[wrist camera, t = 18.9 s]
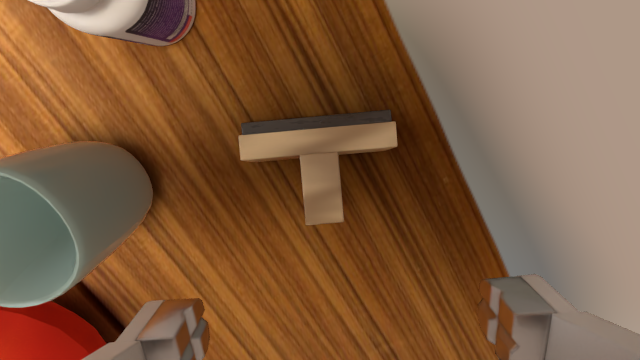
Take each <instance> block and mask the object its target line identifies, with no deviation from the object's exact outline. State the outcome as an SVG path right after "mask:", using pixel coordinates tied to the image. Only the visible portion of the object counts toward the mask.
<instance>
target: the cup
mask: <svg viewBox="0 0 640 360" xmlns="http://www.w3.org/2000/svg"><path fill="white" fill-rule="evenodd" d="M152 199H153V190H152V184H151V181H150V178H149V176H148V174H147V172H146V170H145V168H144V167H143V166H142V164H141V163H140V162H139V161H138V160H137V159H136V158H135V157H134V156H133V155H132V154H130V153H129V152H128V151H126V150H125V149H123V148H121V147H119V146H117V145H114V144H110V143H105V142H100V141H76V142H68V143H62V144H57V145H51V146H46V147H41V148H36V149H32V150H28V151H24V152H19V153H15V154H12V155H8V156H4V157H0V306H2V307H8V308H24V307H30V306H36V305H40V304H43V303H46V302H49V301H52V300H53V299H55V298H57V297H59V296H61V295H62V294H64V293H66V292H68V291H69V290H70V289H72V288H73V287H74V286H75V285H77V284H78V283H79V282H80V281H81V280H83V279H84V278H85V277H86V276H87V275H88V274H90V273H91V272H92V271H93V270H94V269H95V268H97V267H98V266H99V265H100V264H101V263H102V262H103V261H105V260H106V259H107V258H108V257H109V256H110V255H111V254H113V253H114V252H115V251H116V250H117V249H118V248H119V247H120V246H121V245H122V244H123V243H124V242H125V241H126V240H127V239H128V238H129V237H130V236H131V235H132V234H133V233H134V232H135V231H136V230H137V228H138V227H139V226H140V225H141V223H142V222H143V220H144V219H145V218H146V216H147V214H148V212H149V210H150V207H151V204H152Z"/></svg>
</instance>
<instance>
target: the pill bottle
mask: <svg viewBox="0 0 640 360" xmlns="http://www.w3.org/2000/svg"><path fill="white" fill-rule="evenodd" d="M28 1H30V2H33V3H35V4H38V5H41V6H44V7H47V8H48V9H49V10H50V11H51V12H52V13H53V14H54V15H55V16H56V17H57V18H59V19H60V20H61V21H63V22H64V23H66V24H67V25H69V26H71V27H73V28H75V29H77V30H80V31H82V32H85V33H89V34H93V35H97V36H102V37H108V38H113V39H119V40H124V41H130V42H135V43H140V44H146V45H152V46H166V45H171V44H173V43H176V42H177V41H179V40H181V39H182V38H183V37H184V36H185V35H186V34H187V33H188V32H189V30H190V28H191V26H192V24H193V21H194V18H195V10H196V7H195V0H28Z"/></svg>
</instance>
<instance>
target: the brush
mask: <svg viewBox="0 0 640 360" xmlns="http://www.w3.org/2000/svg"><path fill="white" fill-rule="evenodd" d="M391 121H392V120H391V110H380V111H369V112H358V113H347V114H336V115H326V116H315V117H304V118H293V119H282V120H271V121H260V122H249V123H241V127H242V135H239V136H238V138H239V148H240V159H241V161H249V162H263V161H274V160H286V159H297V158H300V167H301V178H302V189H303V200H304V211H305V222H306V225H316V224H327V223H339V222H344V215H343V203H342V192H341V180H340V169H339V157H338V155H342V154H353V153H364V152H375V151H386V150H389V149H392V148H394V147H397V146H398V145H397V133H396V122H395V121H394V122H391Z"/></svg>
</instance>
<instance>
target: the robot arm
mask: <svg viewBox="0 0 640 360" xmlns="http://www.w3.org/2000/svg"><path fill="white" fill-rule="evenodd" d="M479 293H480V294H481V296H482V297H483V299H482V300H481V301H480V302H479V304H478V310H477V315H478V320H479V325H480V328H481V330H482V332H483V334H484V336H485V337H486V339H487V340H488V341H490V342H491V343H493V344H495V345H496V347H495V354H496V355H497V357H498V358H499V360H640V335H639V334H637V333H635V332H632V331H630V330H628V329H626V328H623V327H621V326H619V325H616V324H614V323H612V322H609V321H607V320H604V319H602V318H599V317H597V316H595V315H592V314H590V313H588V312H579V311H578V310H577V309H576V308H575V307H574V306H573V305H571V304H570V303H569V302H568V301H567V300H566V299H565V298H564V297H563V296H562V295H561V294H559V293H558V292H557V291H556V290H555V289H554V288H553V287H552V286H550V284H548V283H547V282H546V281H545V280H544V279H543V278H542V277H541V276H539V275H536V274H531V275H521V276H516V277H503V278H490V279H481V281H480V283H479ZM204 310H205V309H204V306H203V302H202V300H201V299H199V298H194V299H172V300H156V301H149V302H147V303H145V304H144V306H143V307H142V308H141V309H140V311H139V312H138V313H137V314H136V316H135V317H134V318H133V320H132V321H131V322H130V323H129V325H128V326H127V327H126V328H125V330H124V331H123V332H122V334H121V335H120V336H119V337H118V339H117V340H116V341H115V342H110V343H108V344H106V345H104V346H103V347H101V348H99V349H98V350H96V351H95V352H93V353H91V354H90V355H88V356H87V357H85V358H83V359H82V360H202V359H203V358H204V357H205V354H206V352H207V349H208V344H209V338H210V336H209V326H208V322H207V321H205V320H204V319H203V318H202V315H203V313H204Z"/></svg>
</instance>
